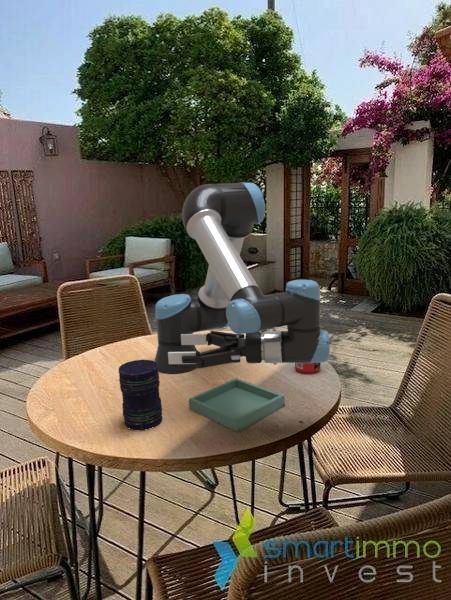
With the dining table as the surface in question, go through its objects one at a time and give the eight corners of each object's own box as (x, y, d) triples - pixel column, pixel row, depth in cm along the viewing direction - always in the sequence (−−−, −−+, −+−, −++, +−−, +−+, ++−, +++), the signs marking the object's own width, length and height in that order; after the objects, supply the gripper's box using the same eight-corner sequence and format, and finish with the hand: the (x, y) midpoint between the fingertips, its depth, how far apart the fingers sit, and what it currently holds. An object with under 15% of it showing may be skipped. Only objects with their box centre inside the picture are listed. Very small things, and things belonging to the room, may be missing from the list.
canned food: (320, 375, 141) (320, 341, 139) (294, 374, 143) (293, 340, 140) (320, 365, 149) (320, 333, 146) (295, 364, 150) (295, 332, 148)
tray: (189, 409, 123) (188, 398, 123) (236, 387, 135) (236, 377, 135) (237, 431, 111) (236, 420, 110) (284, 405, 123) (284, 395, 122)
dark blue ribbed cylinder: (141, 409, 125) (136, 357, 121) (170, 416, 120) (166, 362, 116) (115, 425, 116) (109, 370, 113) (145, 434, 111) (140, 377, 108)
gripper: (260, 383, 98) (163, 383, 101) (265, 345, 122) (186, 346, 125) (259, 349, 96) (161, 350, 99) (264, 318, 120) (184, 319, 123)
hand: (175, 348), depth 112 cm, fingers open, 13 cm apart
